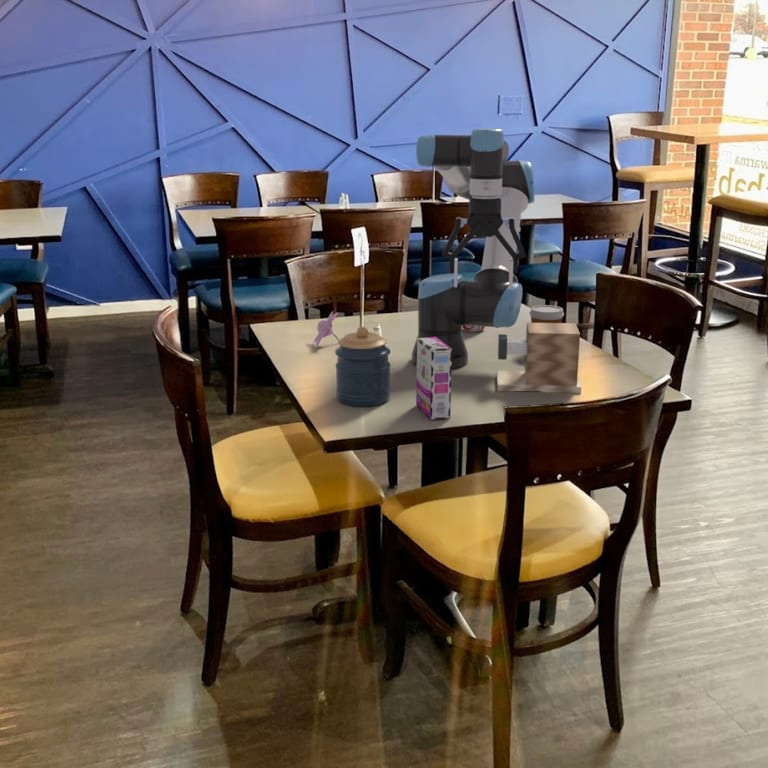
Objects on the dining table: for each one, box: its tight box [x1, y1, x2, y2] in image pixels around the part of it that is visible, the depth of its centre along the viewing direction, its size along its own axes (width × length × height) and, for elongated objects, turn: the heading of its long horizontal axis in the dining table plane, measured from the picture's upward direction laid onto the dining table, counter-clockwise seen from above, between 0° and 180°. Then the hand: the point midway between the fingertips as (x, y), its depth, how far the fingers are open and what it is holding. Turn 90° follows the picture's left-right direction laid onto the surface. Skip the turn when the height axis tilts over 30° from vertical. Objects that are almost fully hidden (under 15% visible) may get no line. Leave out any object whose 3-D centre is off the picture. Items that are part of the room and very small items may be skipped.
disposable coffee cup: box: [528, 304, 565, 323], centre depth 255 cm, size 10×10×12 cm
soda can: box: [462, 325, 485, 333], centre depth 277 cm, size 7×7×12 cm
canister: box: [334, 326, 392, 408], centre depth 216 cm, size 13×13×18 cm
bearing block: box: [496, 322, 582, 394], centre depth 226 cm, size 20×12×14 cm, turn 85°
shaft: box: [497, 333, 528, 361], centre depth 225 cm, size 16×5×5 cm, turn 85°
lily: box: [313, 310, 340, 350], centre depth 263 cm, size 12×12×10 cm
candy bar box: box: [415, 337, 453, 421], centre depth 207 cm, size 11×5×16 cm, turn 16°
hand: (482, 286), depth 222 cm, fingers open, 12 cm apart
